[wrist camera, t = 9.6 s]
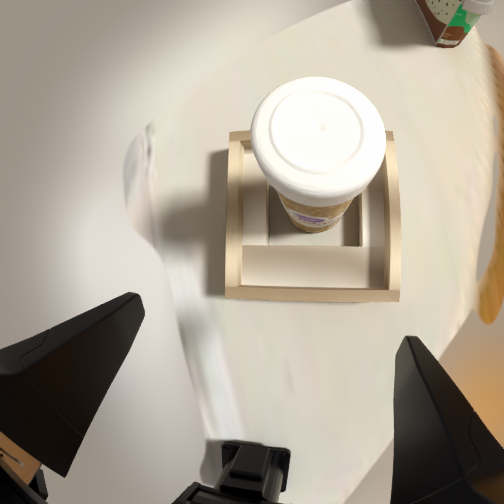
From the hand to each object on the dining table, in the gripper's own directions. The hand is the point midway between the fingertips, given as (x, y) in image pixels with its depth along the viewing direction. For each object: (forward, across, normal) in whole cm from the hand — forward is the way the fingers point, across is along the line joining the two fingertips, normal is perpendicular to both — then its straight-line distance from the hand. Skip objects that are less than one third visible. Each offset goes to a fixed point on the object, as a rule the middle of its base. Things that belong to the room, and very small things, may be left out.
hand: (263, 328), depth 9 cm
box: (+14, -1, +2) cm, 14 cm away
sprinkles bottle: (+15, -1, +1) cm, 15 cm away
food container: (+27, -16, -20) cm, 38 cm away
